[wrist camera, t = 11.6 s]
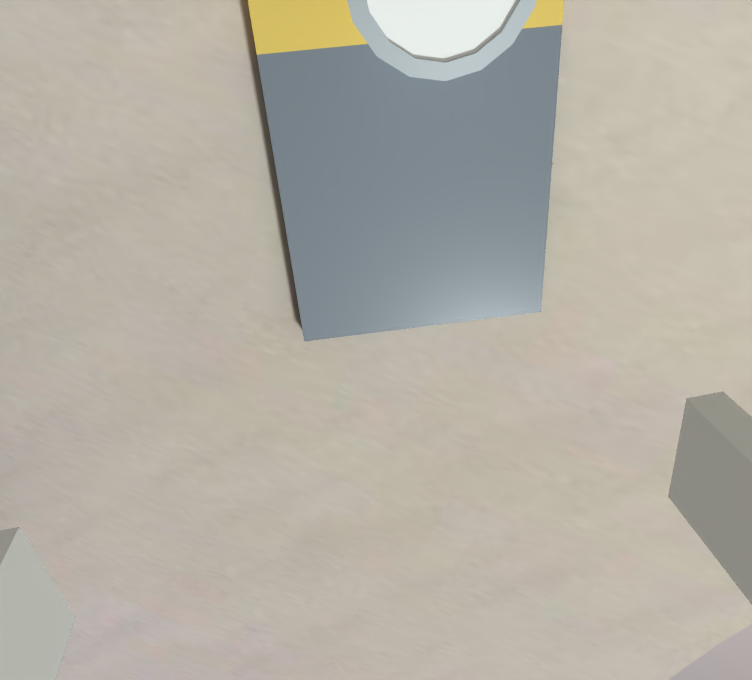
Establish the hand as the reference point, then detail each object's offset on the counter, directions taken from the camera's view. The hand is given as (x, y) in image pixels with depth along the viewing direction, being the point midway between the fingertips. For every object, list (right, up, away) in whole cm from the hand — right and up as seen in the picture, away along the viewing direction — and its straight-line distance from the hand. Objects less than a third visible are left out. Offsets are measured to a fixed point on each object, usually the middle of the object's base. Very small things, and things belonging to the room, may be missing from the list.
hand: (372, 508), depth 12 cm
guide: (+2, +15, +17) cm, 23 cm away
